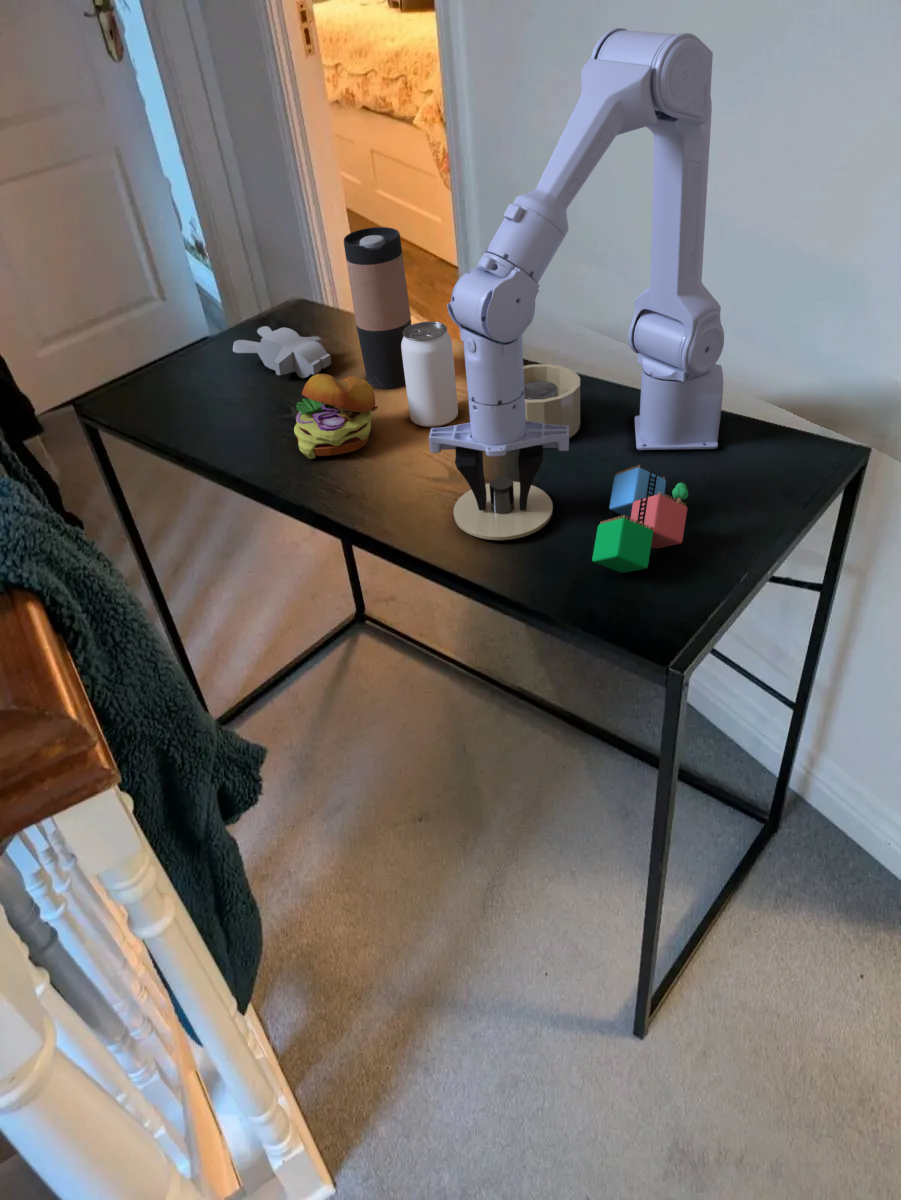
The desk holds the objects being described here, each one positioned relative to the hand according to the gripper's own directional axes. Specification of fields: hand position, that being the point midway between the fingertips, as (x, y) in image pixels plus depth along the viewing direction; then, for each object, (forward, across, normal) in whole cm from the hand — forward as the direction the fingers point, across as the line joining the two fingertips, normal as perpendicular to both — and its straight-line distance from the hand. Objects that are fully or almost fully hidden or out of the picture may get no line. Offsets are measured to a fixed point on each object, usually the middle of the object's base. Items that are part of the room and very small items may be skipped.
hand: (503, 505), depth 99 cm
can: (+2, -11, +23) cm, 26 cm away
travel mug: (+2, -19, +36) cm, 40 cm away
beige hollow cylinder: (+1, +3, +20) cm, 21 cm away
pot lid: (+1, 0, 0) cm, 1 cm away
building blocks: (+2, +14, -6) cm, 15 cm away
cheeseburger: (+2, -23, +18) cm, 29 cm away
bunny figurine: (+2, -36, +40) cm, 54 cm away
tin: (+1, +3, +20) cm, 21 cm away
